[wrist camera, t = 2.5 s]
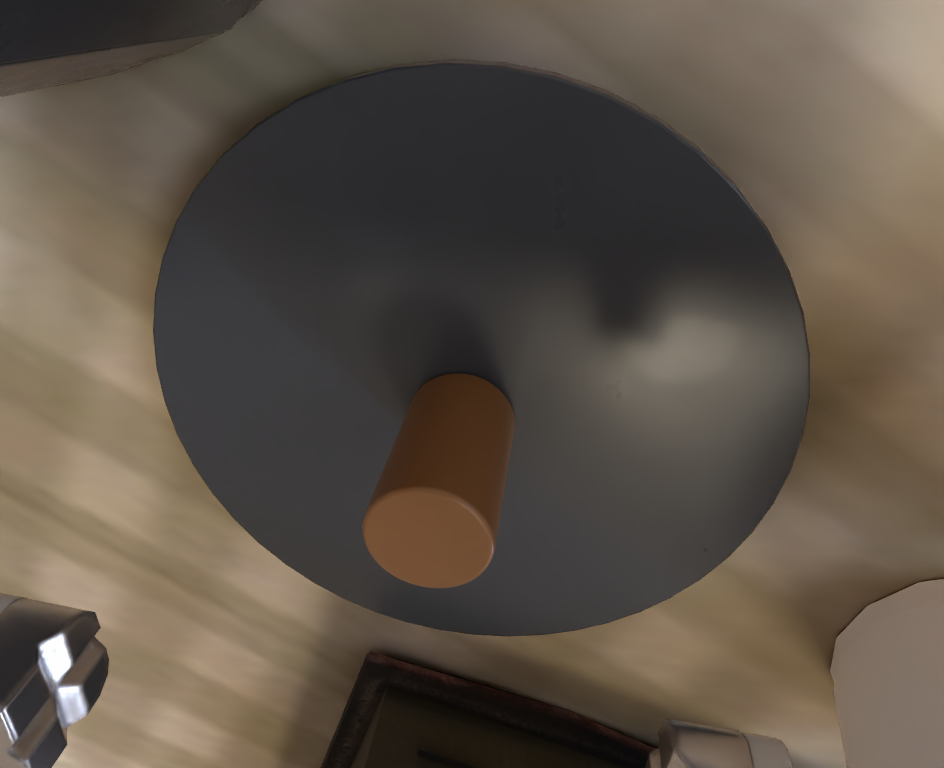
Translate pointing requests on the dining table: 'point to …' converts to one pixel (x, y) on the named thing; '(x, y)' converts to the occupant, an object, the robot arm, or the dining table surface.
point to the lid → (482, 348)
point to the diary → (464, 726)
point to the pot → (100, 36)
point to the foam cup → (893, 681)
